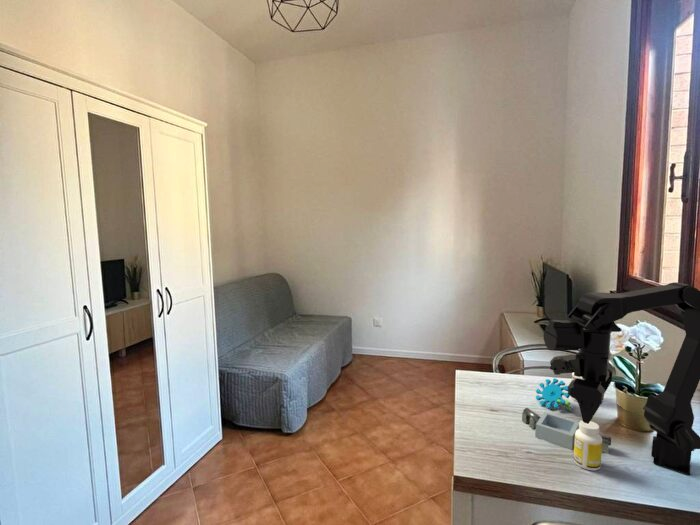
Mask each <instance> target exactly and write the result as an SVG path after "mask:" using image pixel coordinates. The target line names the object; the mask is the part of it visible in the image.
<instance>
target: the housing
mask: <svg viewBox="0 0 700 525" xmlns="http://www.w3.org/2000/svg"><path fill="white" fill-rule="evenodd" d="M540 417H541V418H540V419H539V420H538V422H537V423H536V429H535V433H534V434H535V435H534V436H535V438H537V439H539V440H542V441H545V442H548V443H551V444H553V445H557V446H560V447H563V448H565V449H569V450H574V443H575V432H576V430H578V429H579V422H580V421H578V420H574V419H571V418H567V417H564V416H561V415H559V414H558V415H557V414H555V413H551V412H548V411H544V412H543V413H542V415H541V416H540Z"/></svg>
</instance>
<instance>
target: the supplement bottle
mask: <svg viewBox="0 0 700 525" xmlns="http://www.w3.org/2000/svg"><path fill="white" fill-rule="evenodd" d="M578 422H579V429H578V430H576V432H575V443H574V446H573V461H574V463H575V464H576V465H577V466H579V467H580V468H582V469H584V470H588V471H598V470H599V469H601V466H602V465H601V464H602V463H601V462H602V453H603V452H602V437H601V436H600V435H601V434H600V425H599V424H598V423H596V422H594V421H592V420H591V421H590V422H589V424H587V423H584V422H583V420H582V419H581V420H580V421H578ZM599 434H600V435H599Z"/></svg>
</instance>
